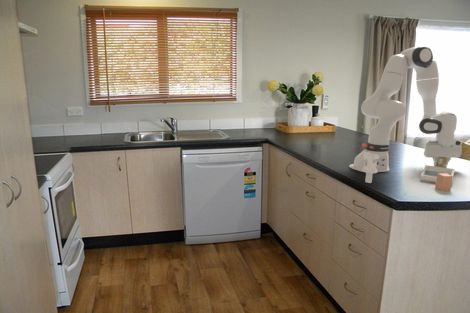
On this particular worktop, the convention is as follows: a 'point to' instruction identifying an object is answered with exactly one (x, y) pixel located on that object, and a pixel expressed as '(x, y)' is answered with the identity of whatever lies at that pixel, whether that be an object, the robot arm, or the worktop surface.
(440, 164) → the block
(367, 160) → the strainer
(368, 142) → the robot arm
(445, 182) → the terracotta block
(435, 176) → the divided tray
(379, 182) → the worktop surface
